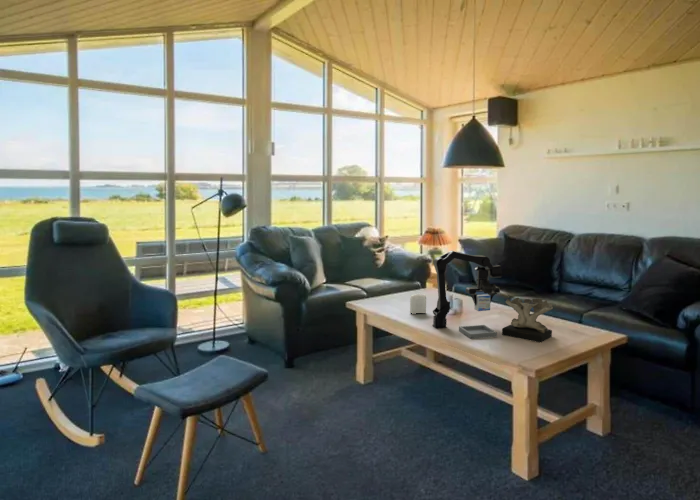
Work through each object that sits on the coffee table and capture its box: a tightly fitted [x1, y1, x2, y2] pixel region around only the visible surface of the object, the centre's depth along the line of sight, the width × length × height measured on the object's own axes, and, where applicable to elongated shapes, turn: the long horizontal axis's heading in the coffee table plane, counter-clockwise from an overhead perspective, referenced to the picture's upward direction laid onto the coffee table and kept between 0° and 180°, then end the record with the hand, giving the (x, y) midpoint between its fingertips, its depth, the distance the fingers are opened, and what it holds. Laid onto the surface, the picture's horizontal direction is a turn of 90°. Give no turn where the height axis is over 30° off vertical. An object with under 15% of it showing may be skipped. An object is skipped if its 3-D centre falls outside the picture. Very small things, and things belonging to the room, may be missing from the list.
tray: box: [458, 324, 498, 340], centre depth 278 cm, size 15×15×2 cm
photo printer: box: [409, 293, 427, 315], centre depth 322 cm, size 10×4×12 cm, turn 98°
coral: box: [501, 297, 554, 343], centre depth 268 cm, size 25×20×22 cm
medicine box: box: [473, 293, 491, 312], centre depth 293 cm, size 8×4×9 cm, turn 105°
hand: (482, 304), depth 293 cm, fingers closed on medicine box, 8 cm apart
